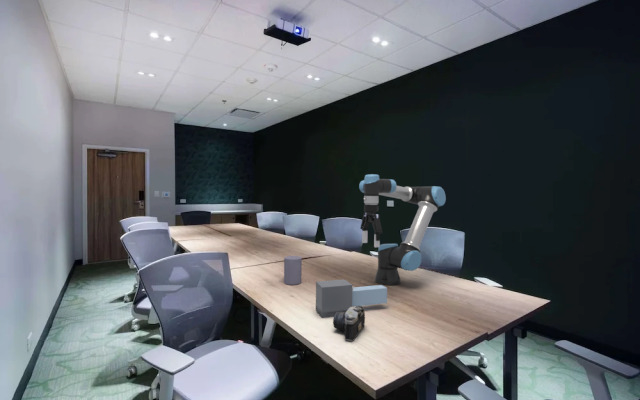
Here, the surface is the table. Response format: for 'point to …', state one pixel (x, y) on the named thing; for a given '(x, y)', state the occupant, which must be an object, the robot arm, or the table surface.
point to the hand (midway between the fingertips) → (370, 244)
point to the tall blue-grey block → (369, 295)
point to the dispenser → (333, 297)
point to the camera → (350, 321)
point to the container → (292, 270)
